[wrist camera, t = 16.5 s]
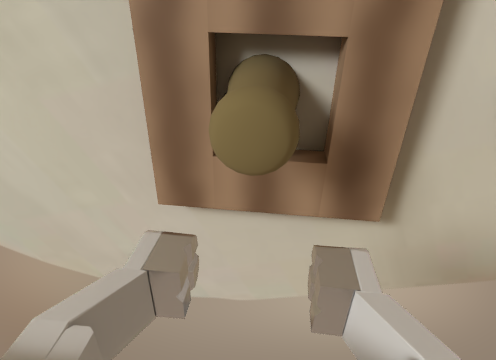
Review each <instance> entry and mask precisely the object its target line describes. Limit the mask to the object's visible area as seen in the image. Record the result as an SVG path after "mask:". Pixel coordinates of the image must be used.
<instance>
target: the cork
mask: <svg viewBox="0 0 496 360" xmlns="http://www.w3.org/2000/svg"><path fill="white" fill-rule="evenodd" d="M299 96H300V88H299V81H298V79H297V76H296V73H295V72H294V70H293V69H292V68H291V67H290V65H289V64H288V63H286V62H285V61H283V60H282V59H280V58H279V57H276V56H272V55H268V54H263V55H254V56H252V57H250V58H247V59H245V60H243V61H242V62H241V63H240V64H239V65H238V66H237V67H236V68H235V69H234V71H233V73H232V75H231V77H230V79H229V84H228V90H227V94H226V95H225V96H224V97H223V98H222V99H221V100H220V101H219V102H218V103H217V105H216V107H215V109H214V111H213V113H212V114H211V117H210V123H209V137H210V142H211V147H212V148H213V150H214V152H215V154H216V156H217V158H218V159H219V160H220V161H221V162H222V163H223V164H224V165H225V166H226V167H228V168H230V169H232V170H234V171H235V172H237V173H241V174H245V175H249V176H256V175H265V174H268V173H271V172H274V171H276V170H278V169H279V168H281V167H282V166H283V165H285V164H286V163H287V162H288V160H289V159H290V158H291V156H292V155H293V154H294V152H295V150H296V147H297V144H298V141H299V138H300V130H299V119H298V117H297V114H296V111H295V109H296V106H297V103H298V100H299Z"/></svg>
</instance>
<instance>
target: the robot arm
mask: <svg viewBox="0 0 496 360" xmlns="http://www.w3.org/2000/svg"><path fill="white" fill-rule="evenodd" d="M197 246H198V242H197V236H196V235H191V234H182V233H173V232H161V231H152V230H148V231H146V232H145V233H144V234H143V236H142V237H141V239H140V240H139V242H138V244H137V245H136V247H135V249H134V250H133V252H132V254H131V255H130V257H129V258H128V260H127V262H126V263H125V265H124V267H123V268H117V269H115V270H113V271H112V272H110V273H108V274H107V275H105V276H103V277H102V278H100V279H98V280H97V281H95V282H93V283H92V284H90V285H88V286H87V287H85V288H83V289H82V290H80V291H78V292H77V293H75V294H73V295H72V296H70V297H68V298H67V299H65V300H63V301H62V302H60V303H58V304H57V305H55V306H53V307H52V308H50V309H48V310H47V311H45V312H43V313H41V314H40V315H38V316H36V317H35V318H33V319H32V320H31V322H30V323H29V324H28V325H27V327H26V328H25V329H24V331H23V332H22V333H21V334H20V336H19V337H18V338H17V339H16V341H15V342H14V343H13V344H12V346H11V347H10V348H9V349H8V351H7V352H6V353H5V354H4V356H3V357H2V358H1V359H0V360H112V359H114V358H115V357H116V356H117V355H118V354H119V353H120V352H121V351H122V350H123V349H124V348H125V347H126V346H127V345H128V344H129V343H130V342H131V341H132V340H133V339H134V338H135V337H137V336H138V335H139V333H141V332H142V331H143V330H144V329H145V328H146V327H147V326H148V325H149V324H150V323H151V322H152V321H153V320H154V319H155V318H156V317H169V318H181V319H185V316H186V313H187V310H188V307H189V304H190V301H191V295H190V291H191V290H192V289H193V288H194V287H195V285H196V281H197V277H198V271H199V256H198V255H197V254H196V253H195V252H196V249H197ZM308 298H309V299H310V301H311V306H310V322H311V332H313V333H320V334H328V335H335V336H342V338H343V340H344V341H345V343H346V344H347V346H348V347H349V348H350V350H351V351H352V353H353V354H354V356H355V357H356V359H357V360H462V359H460V358H459V357H458V356H457V355H456V354H455V353H454V352H453V351H452V350H450V349H449V348H448V347H447V346H446V345H445V344H444V343H442V342H441V341H440V340H439V339H438V338H437V337H436V336H435V335H434V334H433V333H431V332H430V331H429V330H428V329H427V328H426V327H425V326H424V325H422V324H421V323H420V322H419V321H418V320H417V319H416V318H415V317H413V316H412V315H411V314H410V313H409V312H408V311H407V310H406V309H405V308H404V307H402V306H401V305H400V304H399V303H398V302H397V301H396V300H395V299H393V298H392V297H391V296H390V295H389V294H385V293H383V292H382V290H381V287H380V284H379V281H378V278H377V275H376V272H375V269H374V266H373V263H372V260H371V257H370V254H369V251H368V250H367V249H363V248H344V247H331V246H319V245H314V246H313V250H312V265H311V266H310V268H309V275H308Z"/></svg>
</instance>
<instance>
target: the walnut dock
mask: <svg viewBox="0 0 496 360" xmlns="http://www.w3.org/2000/svg"><path fill="white" fill-rule="evenodd" d="M129 4H130V11H131V18H132V25H133V32H134V39H135V45H136V52H137V59H138V66H139V73H140V80H141V87H142V94H143V101H144V108H145V115H146V121H147V128H148V135H149V142H150V149H151V156H152V163H153V170H154V177H155V184H156V191H157V197H158V204H163V205H176V206H188V207H201V208H214V209H226V210H239V211H251V212H264V213H277V214H289V215H302V216H315V217H327V218H340V219H353V220H365V221H378V222H379V221H380V218H381V214H382V211H383V207H384V204H385V200H386V197H387V194H388V190H389V187H390V183H391V180H392V176H393V173H394V169H395V166H396V162H397V159H398V156H399V152H400V149H401V145H402V142H403V138H404V135H405V131H406V128H407V125H408V121H409V118H410V114H411V111H412V107H413V104H414V100H415V97H416V93H417V90H418V87H419V83H420V80H421V76H422V73H423V69H424V66H425V62H426V59H427V55H428V52H429V49H430V45H431V42H432V38H433V35H434V31H435V28H436V24H437V21H438V18H439V14H440V11H441V7H442V4H443V0H129ZM215 32H221V33H250V34H278V35H307V36H335V37H342V41H341V47H340V53H339V60H338V66H337V72H336V79H335V85H334V91H333V98H332V104H331V110H330V117H329V123H328V129H327V136H326V142H325V148H324V151H312V150H295V152H294V154H293V155H292V156H291V158H290V159H289V160H288V162H287V163H286V164H285V165H283V166H282V167H281V168H279V169H278V170H276V171H274V172H271V173H268V174H265V175H256V176H249V175H245V174H241V173H237V172H235V171H234V170H232V169H230V168H228V167H226V166H225V165H224V164H223V163H222V162H221V161H220V160H219V159H218V158H217V156H216V154H215V152H214V150H213V148H212V147H211V142H210V137H209V123H210V117H211V114H212V113H213V111H214V109H215V107H216V105H217V81H216V43H215Z"/></svg>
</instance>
